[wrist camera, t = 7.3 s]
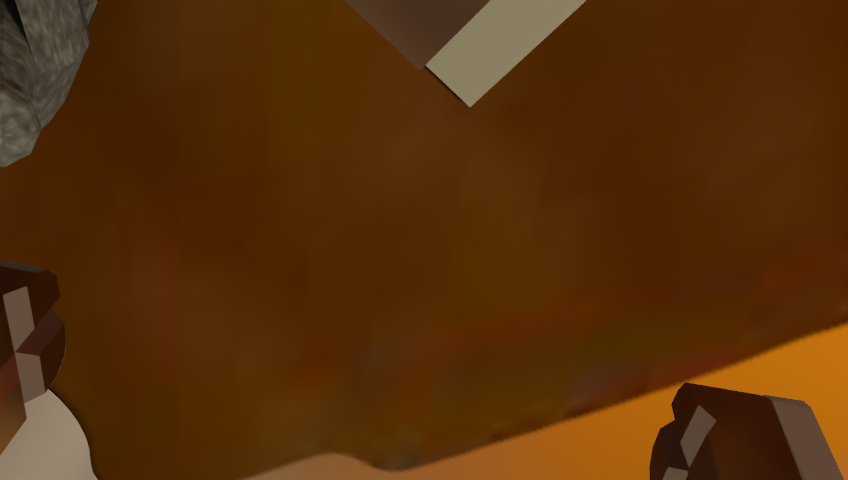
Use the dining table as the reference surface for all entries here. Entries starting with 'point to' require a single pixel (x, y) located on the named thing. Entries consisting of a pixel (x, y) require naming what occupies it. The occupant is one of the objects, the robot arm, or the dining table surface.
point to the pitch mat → (496, 43)
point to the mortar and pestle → (37, 66)
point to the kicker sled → (418, 23)
